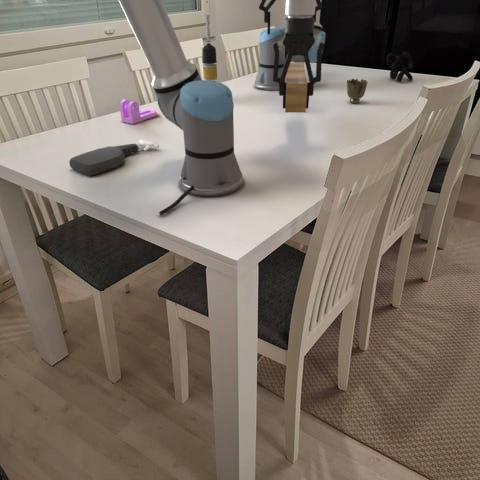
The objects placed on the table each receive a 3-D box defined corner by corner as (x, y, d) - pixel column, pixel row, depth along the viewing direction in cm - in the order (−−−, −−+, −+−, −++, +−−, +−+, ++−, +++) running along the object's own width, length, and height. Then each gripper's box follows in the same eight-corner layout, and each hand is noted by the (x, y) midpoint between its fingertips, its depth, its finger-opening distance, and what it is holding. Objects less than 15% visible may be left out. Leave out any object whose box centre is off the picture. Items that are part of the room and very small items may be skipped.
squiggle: (400, 92, 202) (376, 71, 205) (417, 76, 202) (392, 56, 205) (405, 81, 191) (380, 59, 194) (423, 64, 191) (397, 42, 194)
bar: (305, 112, 124) (307, 83, 120) (285, 112, 124) (286, 83, 120) (301, 87, 149) (303, 62, 145) (284, 86, 150) (285, 62, 145)
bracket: (132, 123, 152) (129, 103, 148) (121, 121, 155) (118, 100, 151) (160, 114, 161) (157, 95, 157) (149, 112, 164) (147, 92, 160)
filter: (220, 99, 177) (217, 15, 161) (206, 100, 176) (202, 16, 160) (215, 96, 182) (212, 14, 166) (202, 97, 180) (197, 14, 164)
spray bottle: (67, 168, 120) (139, 144, 136) (91, 178, 114) (163, 151, 130) (65, 157, 118) (137, 134, 134) (89, 167, 112) (162, 142, 128)
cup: (342, 103, 169) (344, 81, 165) (347, 99, 174) (350, 77, 170) (361, 106, 166) (364, 83, 162) (366, 101, 171) (369, 79, 167)
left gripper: (335, 14, 117) (327, 103, 129) (264, 15, 118) (263, 103, 131) (338, 17, 111) (329, 111, 123) (262, 18, 112) (262, 110, 124)
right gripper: (332, -43, 139) (326, 32, 149) (252, -41, 141) (252, 32, 152) (334, -44, 132) (328, 35, 143) (251, -42, 134) (250, 35, 145)
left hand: (295, 107), depth 127 cm, fingers closed on bar, 6 cm apart
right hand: (289, 34), depth 147 cm, fingers open, 13 cm apart
